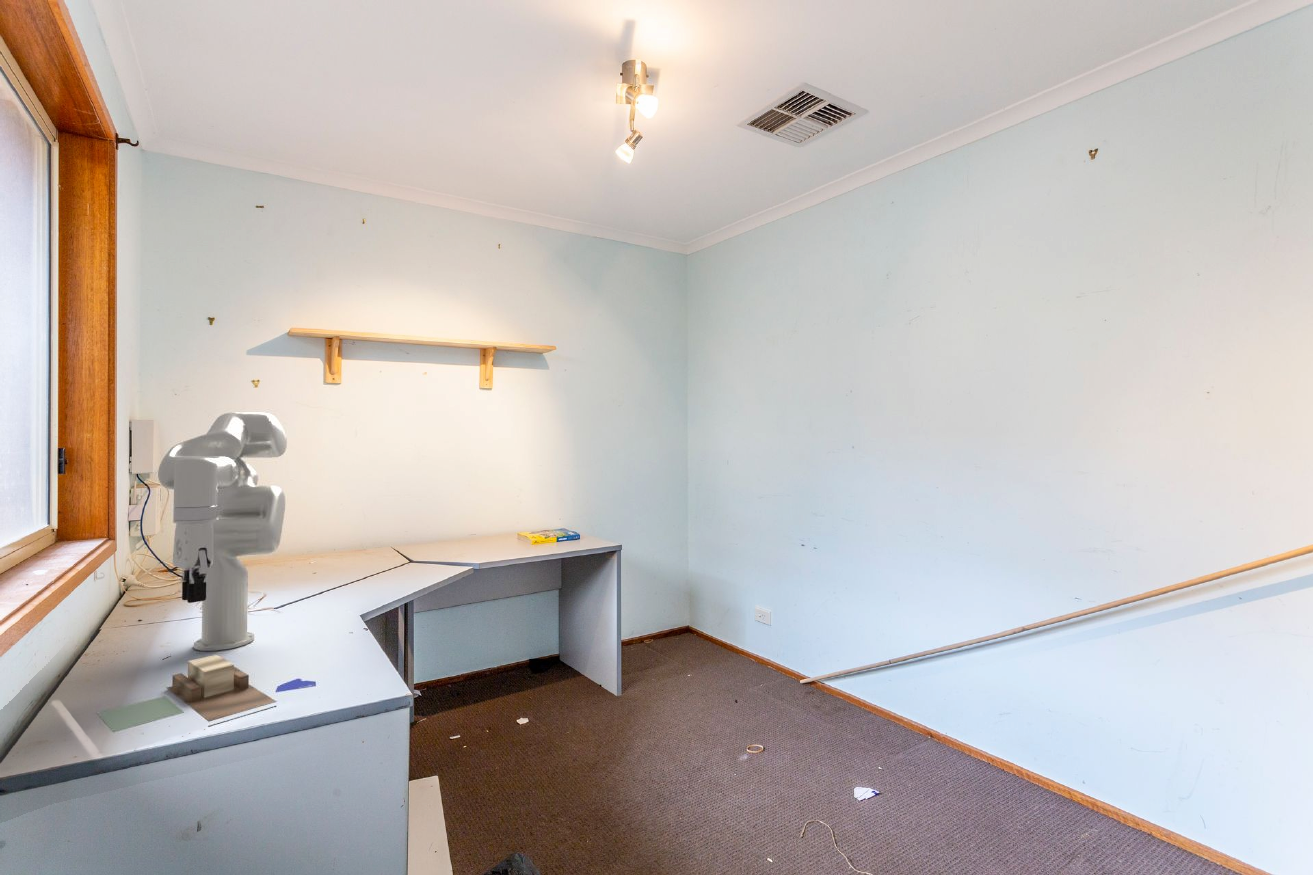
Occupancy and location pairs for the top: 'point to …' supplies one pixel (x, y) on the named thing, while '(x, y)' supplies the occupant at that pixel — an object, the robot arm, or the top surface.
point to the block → (212, 675)
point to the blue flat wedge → (295, 685)
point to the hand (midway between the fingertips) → (194, 599)
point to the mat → (139, 713)
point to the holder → (220, 697)
